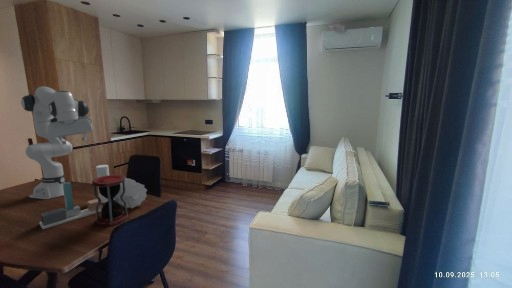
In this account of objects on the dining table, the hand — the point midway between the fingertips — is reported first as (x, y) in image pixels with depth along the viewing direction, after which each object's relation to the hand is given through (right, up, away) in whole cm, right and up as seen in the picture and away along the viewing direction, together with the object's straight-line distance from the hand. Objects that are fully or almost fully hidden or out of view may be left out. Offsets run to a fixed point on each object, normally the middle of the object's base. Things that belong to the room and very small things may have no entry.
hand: (74, 142), depth 133 cm
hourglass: (+17, -46, +7) cm, 49 cm away
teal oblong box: (-10, -43, +4) cm, 44 cm away
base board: (-7, -45, +8) cm, 46 cm away
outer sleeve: (-12, -45, +1) cm, 46 cm away
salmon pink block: (0, -42, +17) cm, 45 cm away
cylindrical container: (-3, -41, +32) cm, 52 cm away
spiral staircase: (+15, -42, +28) cm, 52 cm away
